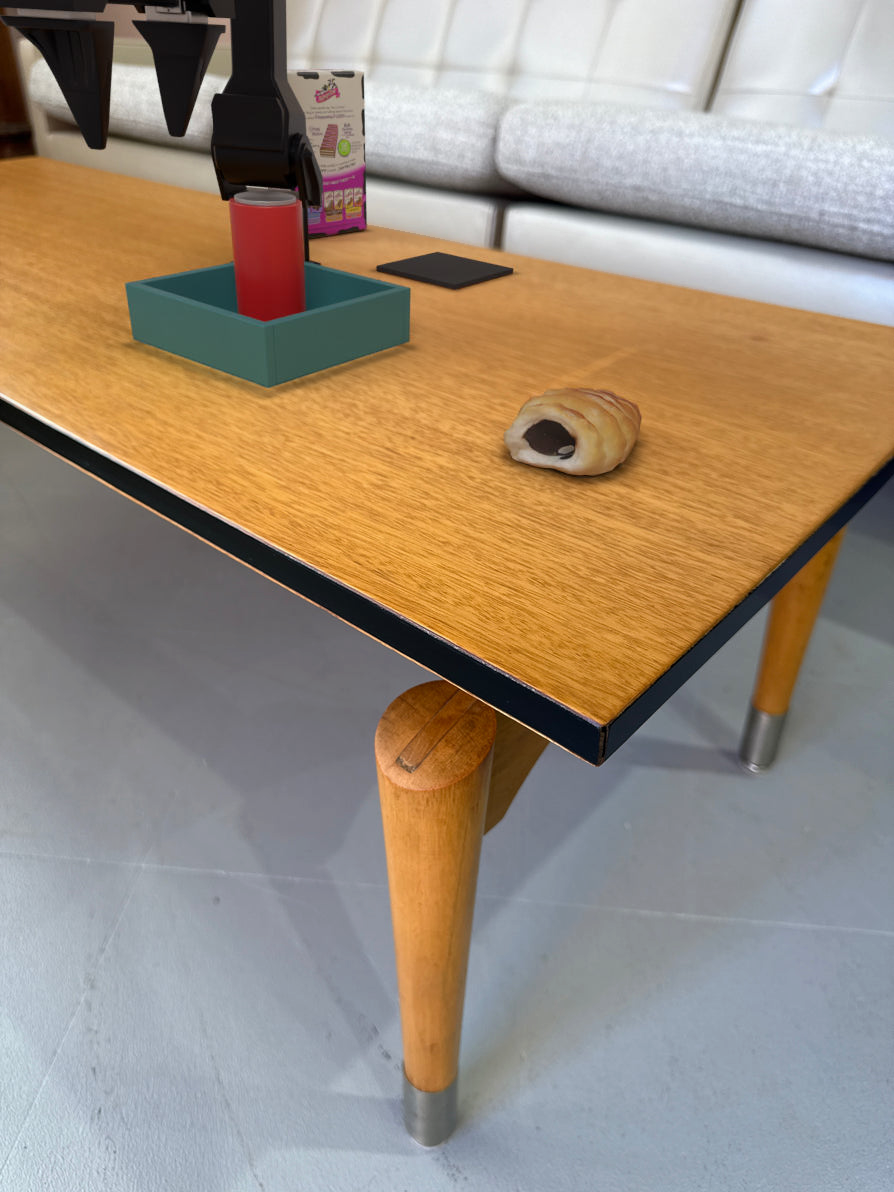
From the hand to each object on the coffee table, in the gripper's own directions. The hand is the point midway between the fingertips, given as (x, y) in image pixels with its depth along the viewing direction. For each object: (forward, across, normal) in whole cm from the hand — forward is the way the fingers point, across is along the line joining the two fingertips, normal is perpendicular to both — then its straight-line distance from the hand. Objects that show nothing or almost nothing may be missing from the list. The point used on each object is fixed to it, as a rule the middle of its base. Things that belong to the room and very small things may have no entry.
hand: (139, 142), depth 59 cm
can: (+13, -2, +8) cm, 15 cm away
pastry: (+14, +8, +33) cm, 37 cm away
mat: (+13, -31, +13) cm, 36 cm away
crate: (+13, -2, +8) cm, 16 cm away
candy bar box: (+14, -42, -7) cm, 45 cm away
